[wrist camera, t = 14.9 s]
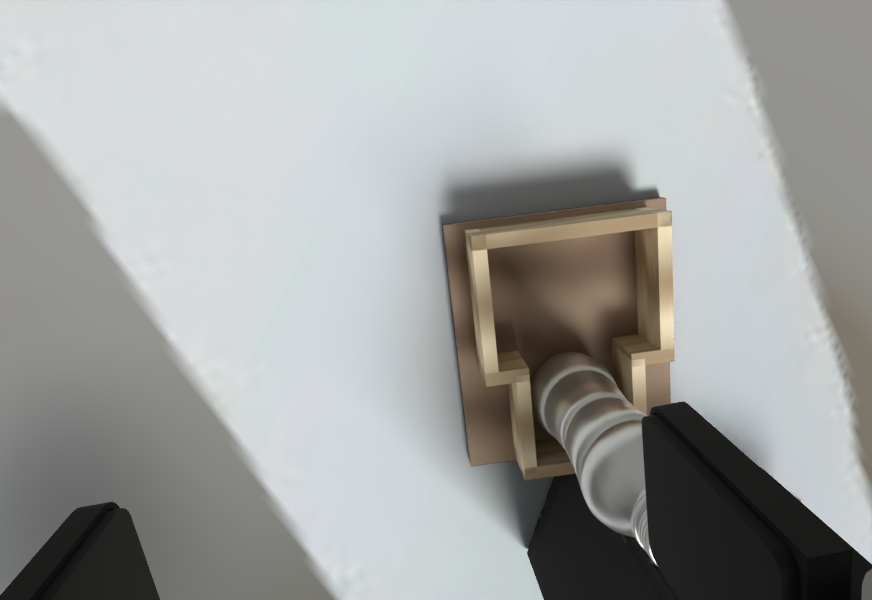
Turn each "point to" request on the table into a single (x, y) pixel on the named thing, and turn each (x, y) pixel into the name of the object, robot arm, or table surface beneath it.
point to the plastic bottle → (596, 438)
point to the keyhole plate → (557, 316)
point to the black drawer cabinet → (589, 554)
